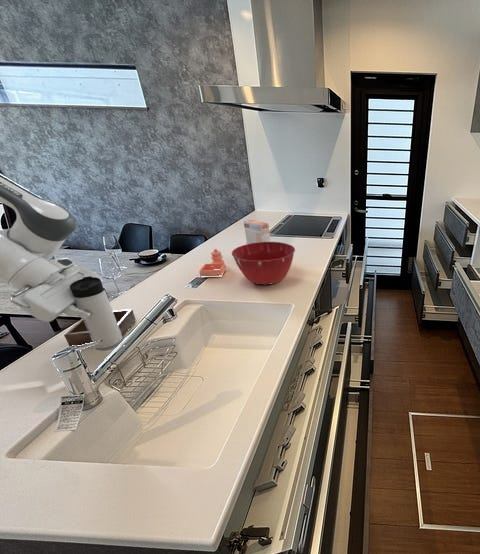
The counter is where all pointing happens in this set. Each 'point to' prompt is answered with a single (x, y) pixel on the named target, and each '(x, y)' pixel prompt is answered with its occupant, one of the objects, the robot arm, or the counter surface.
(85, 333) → the basket
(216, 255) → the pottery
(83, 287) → the travel mug
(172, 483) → the counter surface
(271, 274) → the mixing bowl
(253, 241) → the cracker box
